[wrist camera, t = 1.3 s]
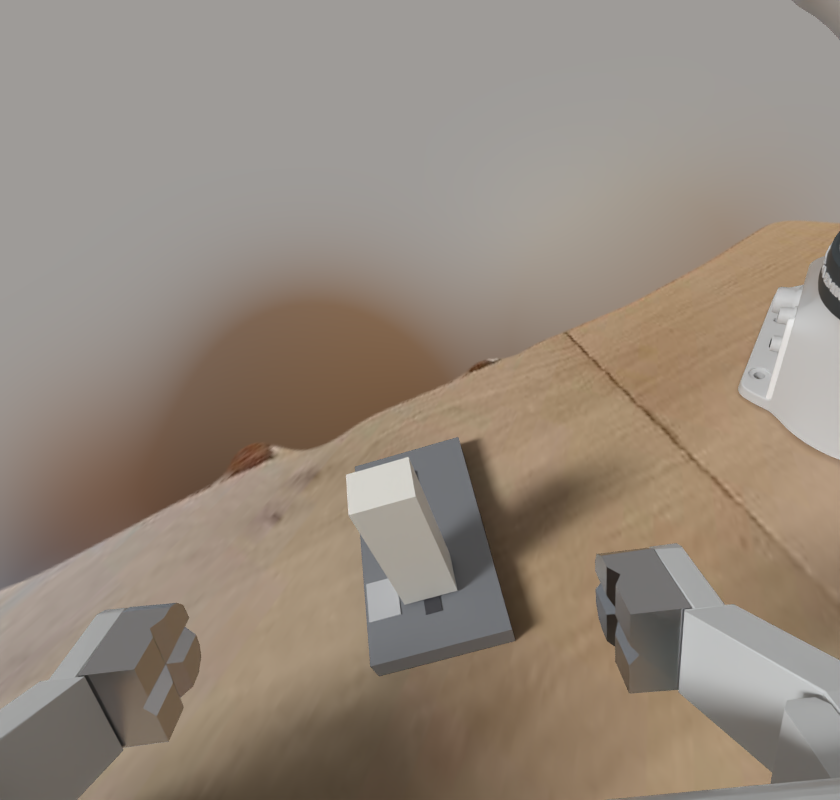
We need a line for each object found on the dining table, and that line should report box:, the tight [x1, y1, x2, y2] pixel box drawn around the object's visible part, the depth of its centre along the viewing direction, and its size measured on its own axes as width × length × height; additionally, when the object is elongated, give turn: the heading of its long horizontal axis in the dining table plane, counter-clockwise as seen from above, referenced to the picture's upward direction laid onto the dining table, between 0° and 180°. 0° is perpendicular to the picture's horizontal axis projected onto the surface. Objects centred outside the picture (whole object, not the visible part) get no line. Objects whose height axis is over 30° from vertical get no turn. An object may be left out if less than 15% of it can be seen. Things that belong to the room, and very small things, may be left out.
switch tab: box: [346, 457, 458, 605], centre depth 35 cm, size 3×4×12 cm
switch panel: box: [355, 437, 515, 676], centre depth 43 cm, size 18×10×2 cm, turn 9°
